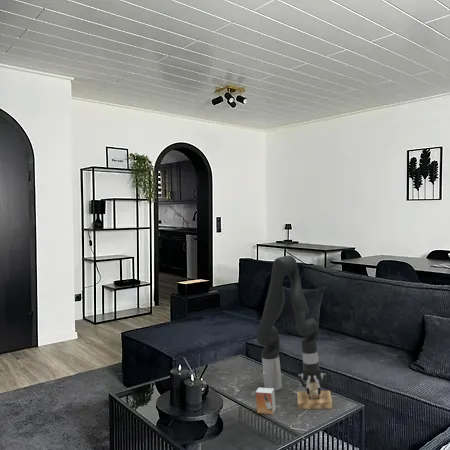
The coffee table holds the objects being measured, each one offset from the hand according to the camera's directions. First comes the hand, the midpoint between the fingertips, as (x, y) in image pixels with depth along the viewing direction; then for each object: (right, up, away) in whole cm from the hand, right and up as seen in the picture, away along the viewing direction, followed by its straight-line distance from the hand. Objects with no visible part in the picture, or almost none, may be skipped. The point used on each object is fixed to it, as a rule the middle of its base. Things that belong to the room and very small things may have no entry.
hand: (313, 394), depth 210 cm
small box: (-23, -7, -3) cm, 24 cm away
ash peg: (0, -3, 0) cm, 3 cm away
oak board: (+1, -4, 0) cm, 4 cm away
